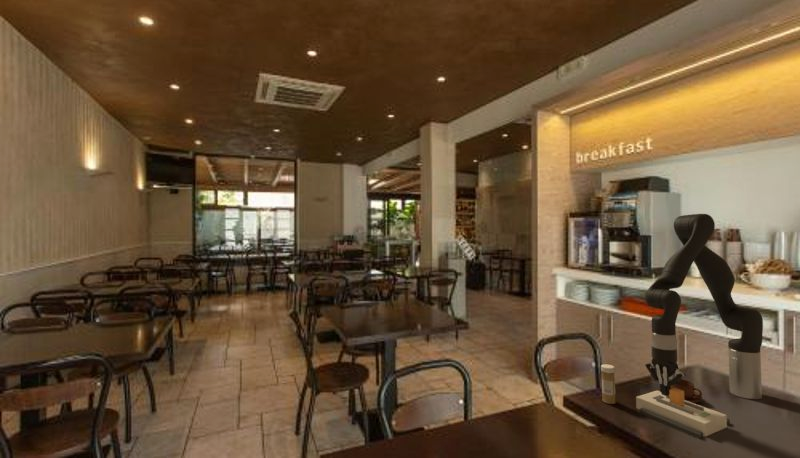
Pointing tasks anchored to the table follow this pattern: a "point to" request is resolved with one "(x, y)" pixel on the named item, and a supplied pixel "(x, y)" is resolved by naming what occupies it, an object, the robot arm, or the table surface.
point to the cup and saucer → (688, 391)
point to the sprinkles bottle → (608, 383)
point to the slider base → (683, 412)
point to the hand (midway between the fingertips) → (665, 394)
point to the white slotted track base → (673, 423)
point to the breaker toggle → (677, 396)
